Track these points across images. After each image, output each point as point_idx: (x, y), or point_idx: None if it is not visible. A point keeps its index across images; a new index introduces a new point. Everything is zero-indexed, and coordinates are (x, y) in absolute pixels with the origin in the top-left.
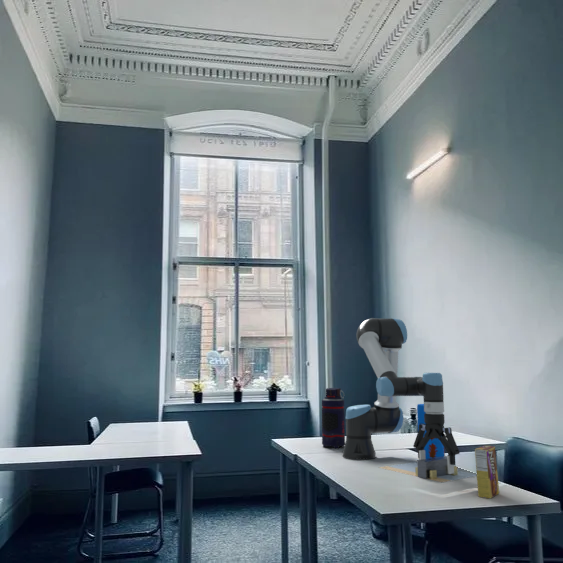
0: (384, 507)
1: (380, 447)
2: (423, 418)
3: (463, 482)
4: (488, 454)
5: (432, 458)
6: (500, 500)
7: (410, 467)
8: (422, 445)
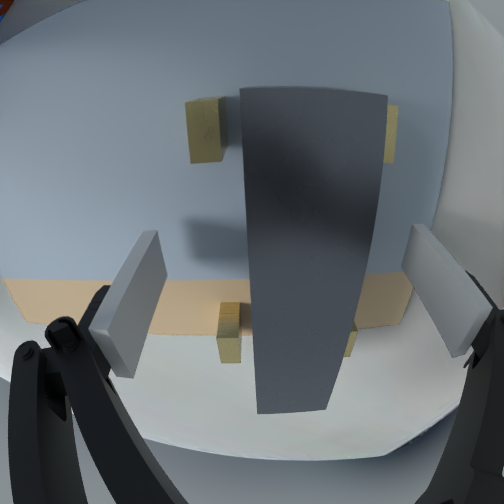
0: (372, 452)
1: None
2: None
3: (446, 194)
4: None
5: (273, 327)
6: None
7: (30, 204)
8: (129, 419)
